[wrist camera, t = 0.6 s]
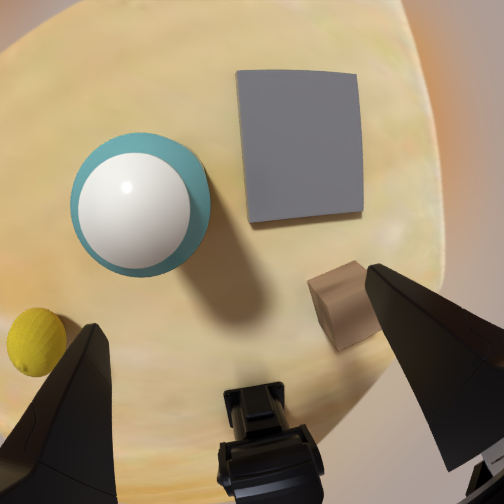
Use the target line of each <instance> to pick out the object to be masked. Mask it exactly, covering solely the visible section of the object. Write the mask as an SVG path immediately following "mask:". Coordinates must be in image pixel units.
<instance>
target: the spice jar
mask: <svg viewBox="0 0 504 504" xmlns="http://www.w3.org/2000/svg"><path fill="white" fill-rule="evenodd" d="M70 208H71V218H72V222H73V226H74V229H75V232H76V234H77V237H78V239H79V240H80V242H81V244H82V245H83V247H84V248H85V250H86V251H87V252H88V253H89V254H90V255H91V257H92V258H93V259H95V260H96V261H97V262H98V263H99V264H101V265H102V266H104V267H105V268H107V269H109V270H111V271H113V272H115V273H118V274H121V275H125V276H130V277H140V278H141V277H152V276H157V275H161V274H164V273H167V272H169V271H171V270H173V269H175V268H176V267H178V266H179V265H181V264H182V263H184V262H185V261H186V260H187V259H188V258H189V257H190V256H191V255H192V254H193V253H194V252H195V250H196V249H197V248H198V246H199V245H200V243H201V241H202V239H203V237H204V235H205V233H206V230H207V227H208V223H209V218H210V209H211V203H210V193H209V188H208V183H207V179H206V175H205V170H204V167H203V164H202V162H201V160H200V159H199V157H198V156H197V155H196V154H195V153H194V152H193V151H192V150H191V149H190V148H188V147H186V146H184V145H182V144H180V143H177V142H175V141H173V140H170V139H168V138H165V137H162V136H159V135H156V134H150V133H131V134H125V135H121V136H118V137H115V138H113V139H111V140H109V141H107V142H105V143H104V144H102V145H101V146H99V147H98V148H97V149H96V150H94V151H93V152H92V153H91V154H90V155H89V156H88V158H87V159H86V160H85V162H84V163H83V164H82V166H81V168H80V169H79V171H78V173H77V175H76V178H75V181H74V184H73V188H72V192H71V200H70Z"/></svg>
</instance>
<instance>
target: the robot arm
mask: <svg viewBox="0 0 504 504" xmlns="http://www.w3.org/2000/svg"><path fill="white" fill-rule="evenodd" d="M365 290H366V293H367V295H368V298H369V300H370V302H371V305H372V307H373V310H374V312H375V315H376V317H377V320H378V322H379V324H380V327H381V329H382V331H383V333H384V335H385V336H386V338H387V340H388V342H389V344H390V346H391V348H392V350H393V352H394V354H395V356H396V358H397V360H398V362H399V364H400V365H401V368H402V369H403V371H404V374H405V375H406V378H407V380H408V382H409V383H410V386H411V388H412V390H413V392H414V394H415V396H416V398H417V401H418V403H419V405H420V407H421V409H422V411H423V414H424V416H425V418H426V420H427V422H428V424H429V428H430V430H431V432H432V434H433V437H434V439H435V441H436V444H437V446H438V449H439V451H440V453H441V456H442V458H443V461H444V463H445V466H446V468H447V470H448V472H450V471H452V470H454V469H456V468H457V467H459V466H461V465H463V464H464V463H466V462H468V461H469V460H471V459H473V458H474V457H476V456H477V455H479V454H480V453H481V455H482V456H483V460H482V461H481V462H479V463H478V464H477V465H475V466H474V470H473V473H472V476H471V479H470V482H469V486H468V489H467V492H466V498H465V499H463V500H462V501H461V502H459V503H458V504H504V329H502V328H500V327H498V326H496V325H494V324H492V323H490V322H488V321H486V320H484V319H482V318H480V317H478V316H476V315H474V314H473V313H471V312H469V311H467V310H466V309H462V307H460V306H458V305H457V304H455V303H453V302H451V301H449V300H448V299H446V298H444V297H442V296H440V295H439V294H437V293H435V292H433V291H431V290H429V289H428V288H426V287H424V286H422V285H420V284H418V283H416V282H415V281H413V280H411V279H409V278H407V277H405V276H403V275H401V274H399V273H397V272H396V271H394V270H392V269H390V268H388V267H386V266H384V265H382V264H374V265H370V266H369V267H368V269H367V274H366V279H365ZM277 386H278V387H277ZM227 394H230V395H227ZM223 395H224V400H225V405H226V409H227V414H228V419H229V423H230V427H231V428H233V429H234V435H235V440H236V441H233V442H227V443H225V442H223V443H220V449H219V453H218V461H219V469H218V474H217V482H218V484H220V485H221V486H223V487H224V489H225V490H226V492H227V494H228V496H229V497H230V496H234V498H235V501H236V504H322V501H323V498H324V492H323V488H322V484H321V480H320V477H319V476H322V475H324V466H323V462H322V458H321V455H320V452H319V449H318V447H317V445H316V443H315V441H314V440H313V438H312V436H311V434H310V432H309V430H308V429H307V427H306V425H305V424H303V425H300V426H299V427H295V428H291V429H290V428H289V425H288V422H287V419H286V416H285V413H284V386H283V383H282V382H274V383H269V384H264V385H258V386H252V387H246V388H239V389H233V390H226V391H224V393H223ZM116 496H117V494H116V484H115V474H114V460H113V442H112V381H111V368H110V352H109V342H108V339H107V337H106V336H105V334H104V333H103V331H102V330H101V328H100V326H99V325H98V324H97V323H92V324H87V325H85V326H84V327H83V328H82V330H81V331H80V332H79V334H78V335H77V336H76V338H75V339H74V341H73V342H72V343H71V345H70V346H69V347H68V349H67V350H66V352H65V353H64V354H63V356H62V357H61V359H60V360H59V361H58V363H57V364H56V366H55V367H54V369H53V370H52V372H51V373H50V374H49V376H48V377H47V379H46V380H45V382H44V383H43V385H42V386H41V388H40V389H39V391H38V392H37V394H36V395H35V397H34V399H33V400H32V402H31V403H30V405H29V406H28V408H27V409H26V411H25V413H24V414H23V416H22V417H21V419H20V420H19V422H18V423H17V425H16V426H15V427H14V429H13V430H12V432H11V433H10V434H9V436H8V437H7V439H6V440H5V442H4V443H3V444H2V446H1V447H0V504H118V501H117V497H116Z"/></svg>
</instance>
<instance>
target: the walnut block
mask: <svg viewBox="0 0 504 504" xmlns="http://www.w3.org/2000/svg"><path fill="white" fill-rule="evenodd" d="M366 274H367V270H366V269H365V268H364V267H362V266H361V265H360V264H358V263H357V262H356V261H355V260H354V261H352V262H350V263H348V264H345V265H343V266H341V267H338V268H336V269H334V270H331V271H329V272H327V273H325V274H322V275H320V276H317V277H315V278H313V279H310V280H308V281H307V283H308V286H309V289H310V293H311V296H312V300H313V303H314V307H315V310H316V314H317V317H318V321H319V323H320V325H321V326H322V328H323V329H324V331H325V332H326V334H327V335H328V337H329V338H330V340H331V341H332V343H333V344H334V345H335V347H336V348H337V350H338V351H340V350H342V349H344V348H346V347H348V346H351V345H353V344H355V343H357V342H359V341H361V340H363V339H365V338H367V337H369V336H371V335H373V334H375V333H377V332H379V331H381V330H382V329H381V327H380V324H379V322H378V320H377V317H376V315H375V312H374V310H373V307H372V305H371V302H370V300H369V298H368V295H367V293H366V290H365V279H366Z"/></svg>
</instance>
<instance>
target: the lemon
mask: <svg viewBox="0 0 504 504" xmlns="http://www.w3.org/2000/svg"><path fill="white" fill-rule="evenodd" d="M66 343H67V337H66V331H65V328H64V326H63V324H62V322H61V320H60V319H59V318H58V317H57V316H56V315H55V314H54V313H53V312H51V311H49V310H47V309H44V308H32V309H29V310H26V311H25V312H23V313H22V314H21V315H20V316H18V317H17V318H16V320H15V321H14V323H13V324H12V326H11V328H10V331H9V333H8V337H7V351H8V355H9V358H10V360H11V362H12V363H13V365H14V366H15V367H16V368H17V369H18V370H19V371H20V372H21V373H23V374H25V375H27V376H31V377H42V376H45V375H47V374H49V373H50V372H51V371H52V370H53V369H54V367H55V366H56V364H57V363H58V361H59V360H60V359H61V357H62V356H63V354H64V353H65V350H66Z"/></svg>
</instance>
